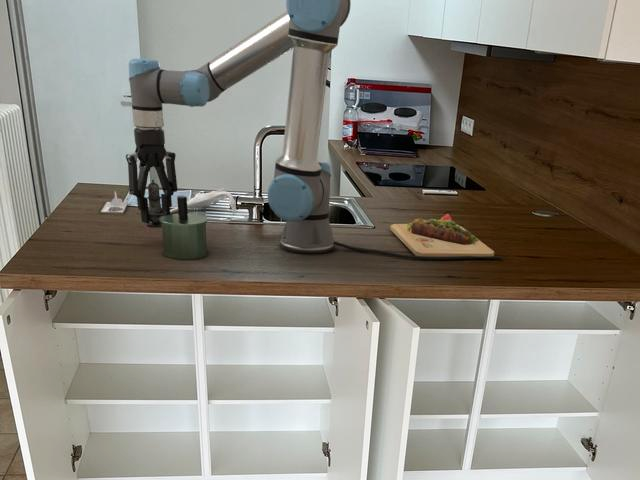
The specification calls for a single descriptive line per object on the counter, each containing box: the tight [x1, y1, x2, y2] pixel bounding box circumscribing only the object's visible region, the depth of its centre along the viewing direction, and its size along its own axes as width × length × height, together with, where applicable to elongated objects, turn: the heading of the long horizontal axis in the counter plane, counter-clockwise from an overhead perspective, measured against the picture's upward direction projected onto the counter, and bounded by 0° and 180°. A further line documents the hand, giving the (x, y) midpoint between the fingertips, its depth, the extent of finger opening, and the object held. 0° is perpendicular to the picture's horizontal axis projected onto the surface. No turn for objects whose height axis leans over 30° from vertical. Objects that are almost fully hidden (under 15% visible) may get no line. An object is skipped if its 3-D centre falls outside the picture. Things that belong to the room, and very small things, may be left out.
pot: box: [161, 222, 208, 260], centre depth 197 cm, size 11×11×8 cm
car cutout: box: [100, 190, 129, 215], centre depth 239 cm, size 15×7×4 cm, turn 9°
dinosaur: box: [170, 186, 237, 214], centre depth 244 cm, size 25×9×16 cm
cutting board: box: [389, 213, 495, 257], centre depth 222 cm, size 35×23×8 cm
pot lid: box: [159, 195, 208, 226], centre depth 193 cm, size 12×12×7 cm
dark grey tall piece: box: [146, 179, 167, 229], centre depth 201 cm, size 6×6×12 cm
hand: (156, 220), depth 203 cm, fingers closed on dark grey tall piece, 6 cm apart
